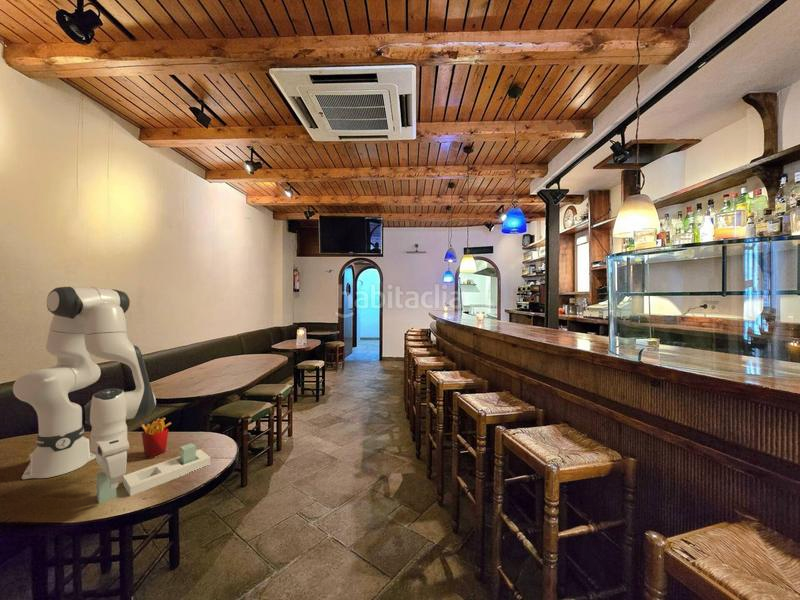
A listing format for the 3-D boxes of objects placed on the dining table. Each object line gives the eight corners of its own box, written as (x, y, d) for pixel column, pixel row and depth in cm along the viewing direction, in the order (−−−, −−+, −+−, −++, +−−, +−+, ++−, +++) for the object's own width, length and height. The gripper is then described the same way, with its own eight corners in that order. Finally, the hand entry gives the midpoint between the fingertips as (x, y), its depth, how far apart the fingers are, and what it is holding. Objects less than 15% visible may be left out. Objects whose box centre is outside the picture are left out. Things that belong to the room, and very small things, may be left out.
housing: (122, 484, 108) (122, 461, 108) (200, 456, 127) (200, 437, 127) (130, 496, 102) (130, 471, 101) (210, 464, 121) (210, 444, 120)
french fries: (140, 456, 126) (140, 420, 125) (162, 447, 133) (162, 413, 133) (154, 461, 122) (154, 423, 122) (176, 451, 130) (176, 416, 130)
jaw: (96, 498, 100) (96, 473, 100) (113, 492, 103) (113, 468, 103) (99, 503, 98) (99, 478, 98) (116, 497, 101) (116, 472, 101)
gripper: (89, 435, 104) (90, 476, 105) (103, 453, 92) (104, 499, 92) (114, 428, 109) (114, 467, 110) (130, 445, 97) (131, 488, 98)
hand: (110, 482), depth 101 cm, fingers open, 8 cm apart
